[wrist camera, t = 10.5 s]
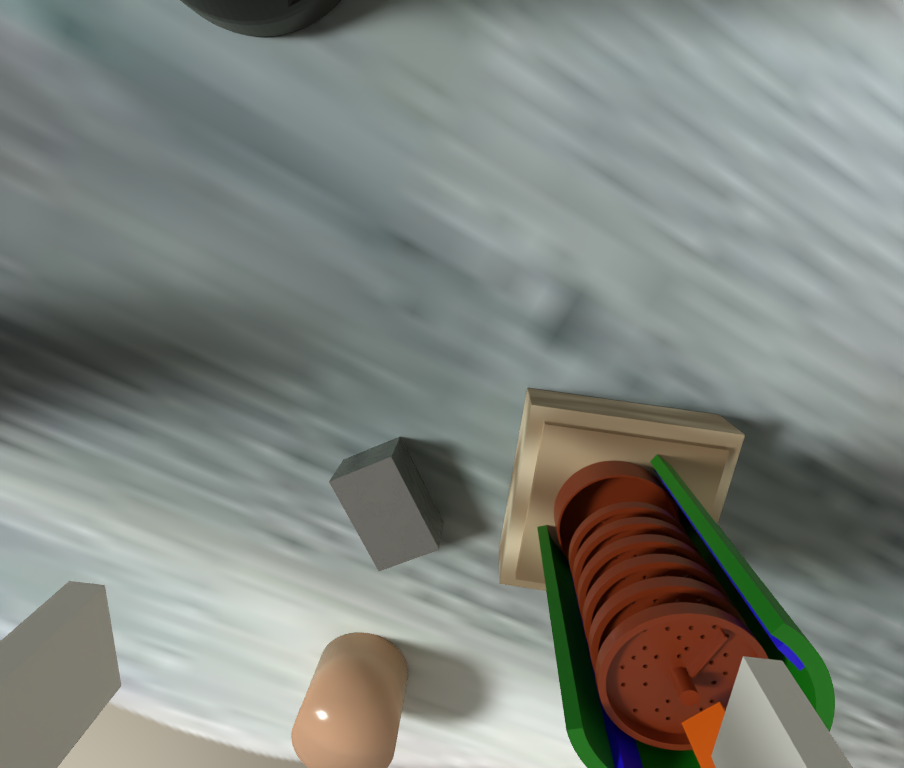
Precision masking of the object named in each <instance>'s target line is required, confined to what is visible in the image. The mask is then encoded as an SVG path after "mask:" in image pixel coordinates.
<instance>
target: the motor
mask: <svg viewBox="0 0 904 768" xmlns="http://www.w3.org/2000/svg"><path fill="white" fill-rule="evenodd" d="M650 463H651V464H652V465H653V467H654V468H655V470H654V471H655V472H656V474H657V475H658V477H659V478H660V480H661V481H662V482H663V484H664V485H665V487H666V488H667V490H668V491H669V493H670V494H671V495H672V497H673V498H674V500H675V501H676V503H677V504H678V511H677V508H676V506H675V504H674V502H673V501H672V499H671V498H670V496H669V495H668V493H667V492H666V490H665V489H664V488H663V486H662V485H661V483H660V482H659V481H658V479H657V478H656V477H655V476H654V475H653V474H651V473H650V472H649V471H647V470H646V469H644V468H642V467H640V466H638V465H636V464H633V463H629V462H624V461H602V462H597V463H594V464H591V465H588V466H586V467H584V468H582V469H580V470H579V471H577V472H576V473H574V474H573V475H572V476H571V477H570V478H569V479H568V480H567V481H566V482H565V483H564V484H563V486H562V487H561V489H560V491H559V493H558V495H557V497H556V500H555V505H554V521H555V526H556V531H557V536H558V540H559V544H560V547H561V550H562V551H561V550H560V549H559V548H558V546H557V545H556V544H555V542H554V541H553V539H552V538H551V536H550V534H549V531H548V528H547V525H544V526H539V527H537V529H538V536H539V543H540V550H541V557H542V564H543V571H544V578H545V585H546V592H547V599H548V605H549V612H550V619H551V626H552V633H553V640H554V647H555V654H556V661H557V668H558V675H559V682H560V689H561V695H562V702H563V709H564V716H565V723H566V730H567V733H568V737H569V739H570V742H571V744H572V746H573V748H574V750H575V751H576V753H577V755H578V756H579V758H580V759H581V760H582V762H583V763H584V764H585V765H586V767H587V768H716V767H715V765H714V762H713V760H712V757H711V755H712V752H713V749H714V746H715V743H716V739H717V736H718V733H719V730H720V727H721V724H722V721H723V718H724V714H725V711H726V708H727V705H728V702H729V699H730V696H731V692H732V689H733V686H734V683H735V680H736V677H737V674H738V670H739V667H740V664H741V661H742V658H743V656H745V657H754V658H763V659H772V660H781V661H783V662H784V664H785V665H786V667H787V668H788V670H789V671H790V673H791V674H792V676H793V678H794V679H795V681H796V682H797V684H798V685H799V687H800V688H801V690H802V691H803V693H804V694H805V696H806V697H807V699H808V700H809V702H810V703H811V705H812V706H813V708H814V709H815V711H816V713H817V714H818V716H819V717H820V719H821V720H822V722H823V723H824V725H825V726H826V728H827V729H828V731H829V732H830V729H831V726H832V722H833V717H834V710H835V696H834V688H833V684H832V680H831V677H830V674H829V671H828V669H827V667H826V665H825V663H824V661H823V660H822V658H821V657H820V655H819V654H818V652H817V651H816V650H815V648H814V647H813V646H812V644H811V643H810V642H809V641H808V639H807V638H806V637H805V636H804V634H803V633H802V632H801V630H800V629H799V628H798V627H797V625H796V624H795V623H794V622H793V620H792V619H791V618H790V616H789V615H788V614H787V613H786V611H785V610H784V609H783V608H782V606H781V605H780V604H779V602H778V601H777V600H776V599H775V597H774V596H773V595H772V593H771V592H770V591H769V590H768V588H767V587H766V586H765V585H764V583H763V582H762V581H761V579H760V578H759V577H758V576H757V574H756V573H755V572H754V571H753V569H752V568H751V567H750V565H749V564H748V563H747V562H746V560H745V559H744V558H743V556H742V555H741V554H740V553H739V551H738V550H737V549H736V548H735V546H734V545H733V544H732V542H731V541H730V540H729V539H728V537H727V536H726V535H725V534H724V532H723V531H722V530H721V528H720V527H719V526H718V525H717V523H716V522H715V521H714V519H713V518H712V517H711V516H710V514H709V513H708V512H707V511H706V509H705V508H704V507H703V505H702V504H701V503H700V502H699V500H698V499H697V498H696V497H695V495H694V494H693V493H692V491H691V490H690V489H689V488H688V486H687V485H686V484H685V482H684V481H683V480H682V479H681V477H680V476H679V475H678V474H677V472H676V471H675V470H674V469H673V467H672V466H671V465H670V464H669V463H668V462H666V461H665V460H664V459H663V458H661V457H660V456H658V455H656V456H655V457H654V458H653V459H652V460H651V461H650Z"/></svg>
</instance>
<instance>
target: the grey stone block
mask: <svg viewBox="0 0 904 768" xmlns="http://www.w3.org/2000/svg"><path fill="white" fill-rule="evenodd" d="M329 482H330V484H331V486H332V488H333V490H334V491H335V493H336V495H337V497H338V499H339V500H340V502H341V504H342V506H343V508H344V509H345V511H346V513H347V515H348V517H349V518H350V520H351V522H352V524H353V526H354V527H355V529H356V531H357V533H358V535H359V536H360V538H361V540H362V542H363V544H364V545H365V547H366V549H367V551H368V553H369V554H370V556H371V558H372V560H373V562H374V563H375V565H376V567H377V569H378V571H381V570H384V569H387V568H389V567H392V566H395V565H398V564H400V563H403V562H406V561H409V560H412V559H414V558H417V557H420V556H423V555H425V554H428V553H431V552H434V551H436V550H439V547H440V540H441V534H442V528H443V521H442V519H441V517H440V515H439V513H438V511H437V509H436V507H435V505H434V503H433V501H432V499H431V497H430V495H429V493H428V491H427V489H426V487H425V485H424V483H423V481H422V479H421V477H420V475H419V473H418V471H417V469H416V467H415V465H414V463H413V461H412V459H411V457H410V455H409V453H408V451H407V450H406V448H405V446H404V444H403V442H402V440H401V438H400V437H398V438H395V439H393V440H390V441H388V442H386V443H383V444H381V445H378V446H376V447H373V448H371V449H368V450H366V451H364V452H361V453H359V454H356V455H354V456H351V457H349V458H346V459H344V460H343V461H342V463H341V464H340V466H339V467H338V469H337V470H336V472H335V473H334V475H333V476H332V478H331V480H330V481H329Z"/></svg>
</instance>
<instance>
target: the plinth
mask: <svg viewBox="0 0 904 768" xmlns="http://www.w3.org/2000/svg"><path fill="white" fill-rule="evenodd" d="M744 437H745V435H744V434H743V433H742V432H740V431H739V430H738V429H737V428H735V427H734V426H733V425H731V424H730V423H729V422H728V421H726V420H725V419H724V418H722V417H721V416H720V415H717V414H710V413H703V412H696V411H688V410H681V409H674V408H667V407H660V406H653V405H646V404H639V403H631V402H624V401H617V400H610V399H603V398H596V397H589V396H582V395H574V394H567V393H560V392H553V391H546V390H539V389H532V388H527V393H526V399H525V404H524V410H523V416H522V421H521V427H520V433H519V439H518V444H517V450H516V456H515V461H514V467H513V473H512V479H511V484H510V490H509V496H508V501H507V507H506V513H505V519H504V524H503V530H502V536H501V541H500V547H499V579H500V584H505V585H512V586H518V587H525V588H532V589H538V590H545V591H546V585H545V578H544V571H543V564H542V557H541V550H540V543H539V536H538V529H537V527H539V526H544V525H547V528H548V531H549V534H550V536H551V538H552V539H553V541H554V542H555V544H556V545H557V546H558V548H559V549H560V550H561V547H560V544H559V540H558V536H557V531H556V526H555V521H554V505H555V500H556V497H557V495H558V493H559V491H560V489H561V487H562V486H563V484H564V483H565V482H566V481H567V480H568V479H569V478H570V477H571V476H572V475H573V474H574V473H576V472H577V471H579V470H580V469H582V468H584V467H586V466H588V465H591V464H594V463H597V462H602V461H624V462H629V463H633V464H636V465H638V466H640V467H642V468H644V469H646V470H647V471H649V472H650V473H651V474H653V475H654V476H655V477H656V478H657V479H658V481H659V482H660V483H661V485H662V486H663V488H664V489H665V490H666V492H667V493H668V495H669V496H670V498H671V499H672V501H673V502H674V504H675V506H676V508H677V511H678V504H677V503H676V501H675V500H674V498H673V497H672V495H671V494H670V493H669V491H668V490H667V488H666V487H665V485H664V484H663V482H662V481H661V480H660V478H659V477H658V475H657V474H656V472H655V471H654V470H655V468H654V467H653V465H652V464H651V463H650V461H651V460H652V459H653V458H654V457H655V456H656V455H658V456H660V457H661V458H663V459H664V460H665V461H666V462H668V463H669V464H670V465H671V466H672V467H673V469H674V470H675V471H676V472H677V474H678V475H679V476H680V477H681V479H682V480H683V481H684V482H685V484H686V485H687V486H688V488H689V489H690V490H691V491H692V493H693V494H694V495H695V497H696V498H697V499H698V500H699V502H700V503H701V504H702V505H703V507H704V508H705V509H706V511H707V512H708V513H709V514H710V516H711V517H712V518H713V519H714V521H715V522H716V523H717V525H718V522H719V518H720V515H721V512H722V509H723V505H724V502H725V499H726V496H727V492H728V489H729V486H730V483H731V479H732V476H733V473H734V470H735V466H736V463H737V460H738V456H739V453H740V450H741V447H742V443H743V440H744ZM561 551H562V550H561Z"/></svg>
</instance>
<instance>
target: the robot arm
mask: <svg viewBox="0 0 904 768" xmlns="http://www.w3.org/2000/svg"><path fill="white" fill-rule="evenodd" d="M180 1H182V2H183V3H184V4H186V5H187V6H188V7H190V8H191V9H192V10H193V11H195V12H196V13H197V14H199V15H200V16H202V17H203V18H205V19H206V20H208V21H210V22H212V23H213V24H215V25H217V26H220V27H222V28H224V29H227V30H230V31H233V32H236V33H240V34H244V35H250V36H276V35H282V34H287V33H291V32H294V31H297V30H299V29H302V28H304V27H306V26H308V25H310V24H312V23H314V22H316V21H317V20H319V19H320V18H322V17H323V16H324V15H326V14H327V13H328V12H329V11H331V10H332V9H333V8H334V7H335V6H336V5H337V4H338V3H339V2H340V1H341V0H180ZM120 687H121V681H120V675H119V669H118V663H117V657H116V651H115V645H114V638H113V632H112V626H111V620H110V614H109V608H108V602H107V596H106V590H105V585H99V584H90V583H81V582H72V581H69V582H68V583H67V584H66V585H64V586H63V587H62V588H61V589H60V590H59V591H58V592H56V593H55V594H54V595H53V596H52V597H51V598H50V599H48V600H47V601H46V602H45V603H44V604H43V605H41V606H40V607H39V608H38V609H37V610H36V611H35V612H33V613H32V614H31V615H30V616H29V617H28V618H27V619H25V620H24V621H23V622H22V623H21V624H20V625H19V626H17V627H16V628H15V629H14V630H13V631H12V632H10V633H9V634H8V635H7V636H6V637H5V638H4V639H2V640H1V641H0V768H57V767H58V766H59V765H60V763H61V762H62V761H63V759H64V758H65V757H66V756H67V754H68V753H69V752H70V750H71V749H72V748H73V747H74V745H75V744H76V743H77V742H78V740H79V739H80V738H81V736H82V735H83V734H84V733H85V731H86V730H87V729H88V728H89V726H90V725H91V724H92V722H93V721H94V720H95V719H96V717H97V716H98V715H99V713H100V712H101V711H102V710H103V708H104V707H105V706H106V705H107V703H108V702H109V701H110V700H111V698H112V697H113V696H114V694H115V693H116V692H117V691H118V689H119V688H120ZM711 757H712V760H713V762H714V765H715V767H716V768H853V767H852V766H851V764H850V763H849V761H848V760H847V758H846V757H845V755H844V754H843V752H842V751H841V749H840V748H839V746H838V744H837V743H836V741H835V740H834V738H833V737H832V735H831V734H830V732H829V731H828V729H827V728H826V726H825V725H824V723H823V722H822V720H821V719H820V717H819V716H818V714H817V713H816V711H815V709H814V708H813V706H812V705H811V703H810V702H809V700H808V699H807V697H806V696H805V694H804V693H803V691H802V690H801V688H800V687H799V685H798V684H797V682H796V681H795V679H794V678H793V676H792V674H791V673H790V671H789V670H788V668H787V667H786V665H785V664H784V662H783V661H781V660H772V659H763V658H754V657H745V656H743V658H742V661H741V664H740V667H739V670H738V674H737V677H736V680H735V683H734V686H733V689H732V692H731V696H730V699H729V702H728V705H727V708H726V711H725V714H724V718H723V721H722V724H721V727H720V730H719V733H718V736H717V739H716V743H715V746H714V749H713V752H712V755H711Z"/></svg>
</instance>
